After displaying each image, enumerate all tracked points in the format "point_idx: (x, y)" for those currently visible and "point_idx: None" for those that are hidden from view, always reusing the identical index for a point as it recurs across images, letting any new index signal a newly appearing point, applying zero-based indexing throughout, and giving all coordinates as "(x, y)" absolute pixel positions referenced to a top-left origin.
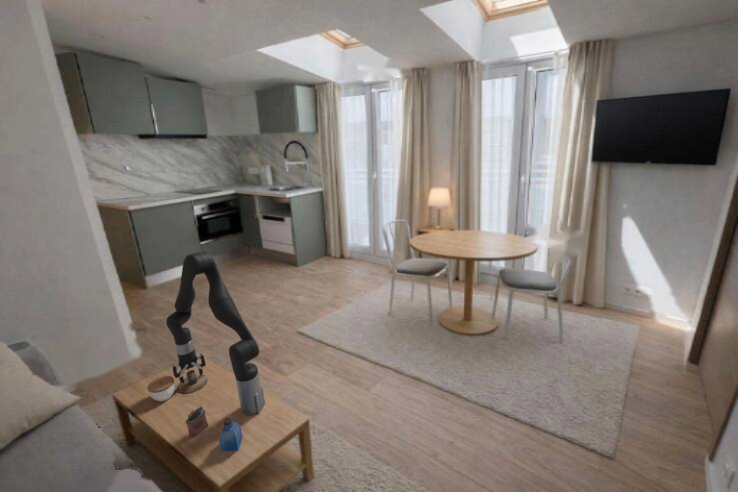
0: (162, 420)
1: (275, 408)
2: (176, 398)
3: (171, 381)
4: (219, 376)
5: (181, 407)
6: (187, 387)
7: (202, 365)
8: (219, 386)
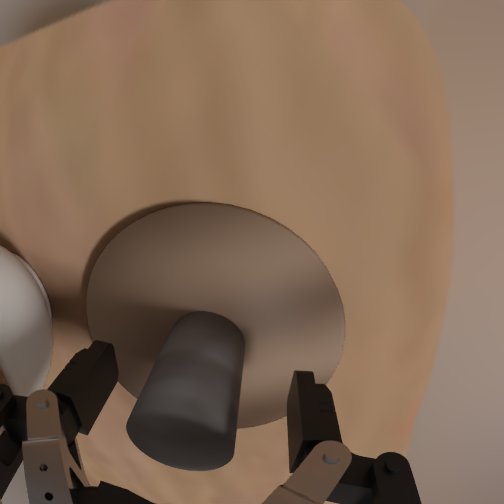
0: None
1: None
2: None
3: (1, 428)
4: (401, 389)
5: (106, 443)
6: (150, 364)
7: (347, 493)
8: None
